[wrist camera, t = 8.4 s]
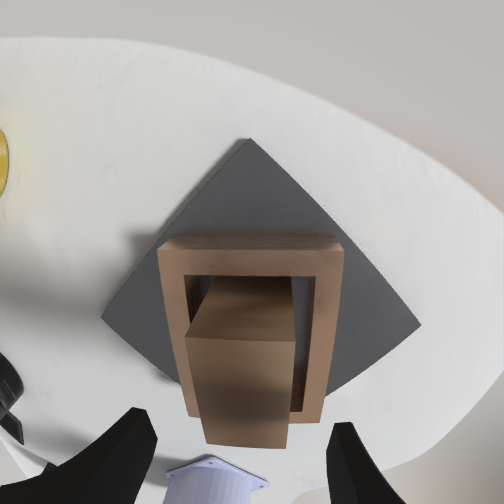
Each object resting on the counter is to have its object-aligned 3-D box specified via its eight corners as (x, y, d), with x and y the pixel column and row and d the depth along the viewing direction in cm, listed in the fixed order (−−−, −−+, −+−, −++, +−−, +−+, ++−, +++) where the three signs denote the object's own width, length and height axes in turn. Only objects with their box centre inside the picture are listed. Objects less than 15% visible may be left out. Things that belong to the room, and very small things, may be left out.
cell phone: (-2, 420, 32) (-3, 422, 32) (-9, 391, 28) (-11, 394, 27) (25, 444, 33) (23, 446, 32) (22, 421, 29) (20, 424, 28)
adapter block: (290, 275, 16) (295, 341, 10) (286, 374, 18) (285, 448, 12) (216, 274, 16) (184, 337, 10) (225, 372, 18) (206, 443, 12)
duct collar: (257, 429, 21) (254, 458, 18) (104, 313, 18) (81, 336, 15) (418, 320, 16) (437, 347, 13) (251, 138, 14) (244, 133, 11)
